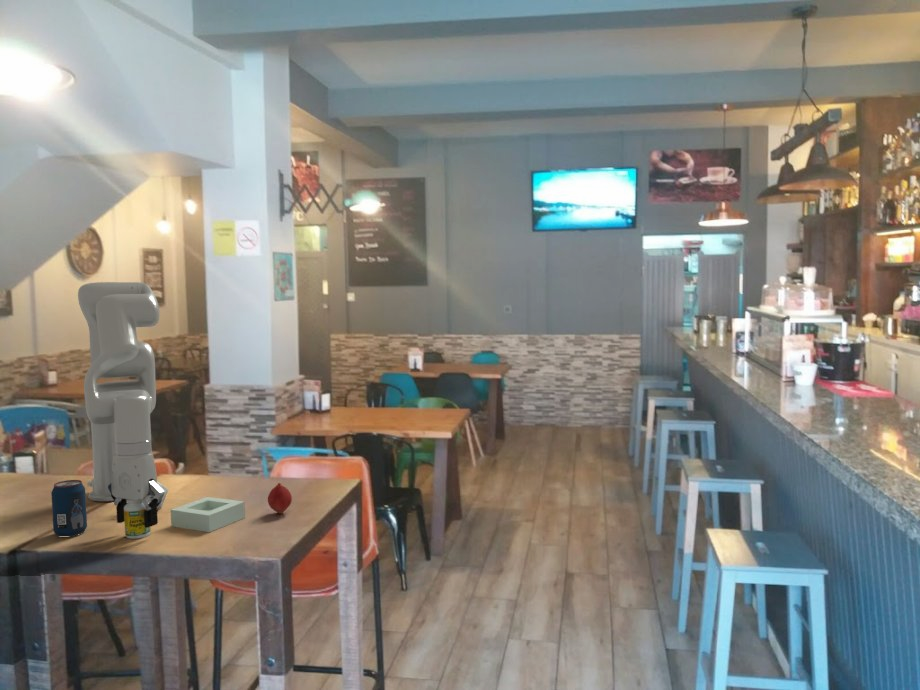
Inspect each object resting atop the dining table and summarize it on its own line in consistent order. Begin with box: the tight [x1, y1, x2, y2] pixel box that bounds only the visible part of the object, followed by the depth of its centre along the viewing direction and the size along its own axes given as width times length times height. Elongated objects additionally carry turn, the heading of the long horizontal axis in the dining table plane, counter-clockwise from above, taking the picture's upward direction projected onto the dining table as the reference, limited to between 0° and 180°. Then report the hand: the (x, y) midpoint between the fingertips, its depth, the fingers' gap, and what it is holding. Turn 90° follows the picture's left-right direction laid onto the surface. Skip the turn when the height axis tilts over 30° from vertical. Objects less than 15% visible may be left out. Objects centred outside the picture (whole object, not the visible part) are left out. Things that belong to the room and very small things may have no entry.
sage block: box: [170, 496, 246, 533], centre depth 177 cm, size 12×12×4 cm
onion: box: [267, 482, 293, 515], centre depth 183 cm, size 6×6×8 cm
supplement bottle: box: [123, 499, 151, 540], centre depth 167 cm, size 5×5×10 cm
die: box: [148, 480, 169, 510], centre depth 188 cm, size 8×9×10 cm
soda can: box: [50, 479, 88, 537], centre depth 169 cm, size 7×7×12 cm
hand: (137, 523), depth 167 cm, fingers open, 8 cm apart
